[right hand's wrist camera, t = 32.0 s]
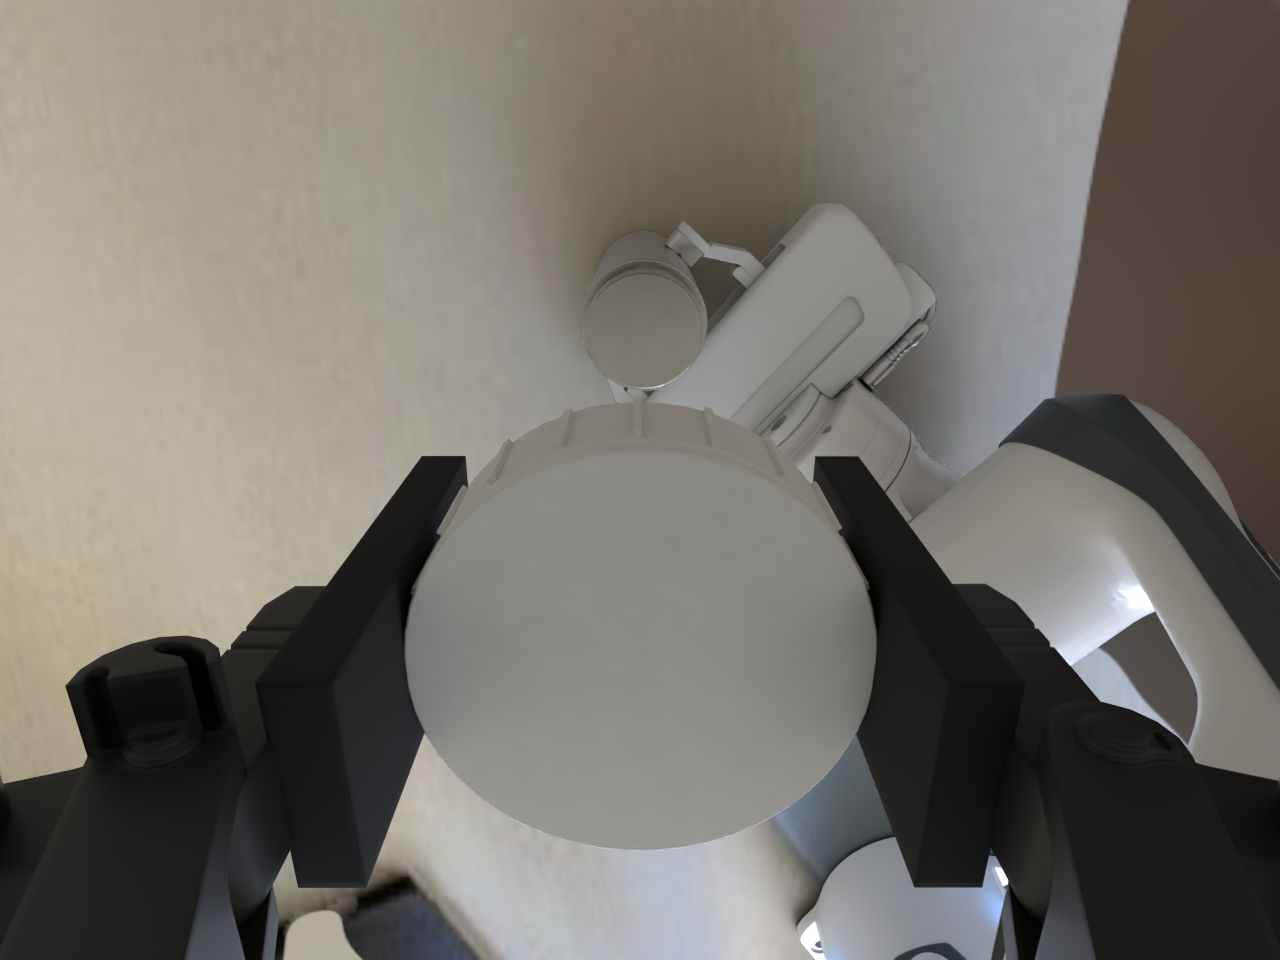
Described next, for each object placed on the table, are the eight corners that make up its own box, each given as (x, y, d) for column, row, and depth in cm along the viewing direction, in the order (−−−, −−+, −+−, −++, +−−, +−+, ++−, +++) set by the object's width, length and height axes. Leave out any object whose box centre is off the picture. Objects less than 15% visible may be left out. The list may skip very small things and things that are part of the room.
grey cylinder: (588, 242, 48) (561, 280, 32) (678, 221, 47) (696, 250, 31) (610, 331, 50) (594, 410, 34) (696, 312, 49) (722, 382, 33)
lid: (722, 806, 14) (735, 908, 12) (379, 671, 13) (333, 760, 11) (925, 509, 12) (979, 575, 10) (535, 320, 11) (513, 354, 9)
